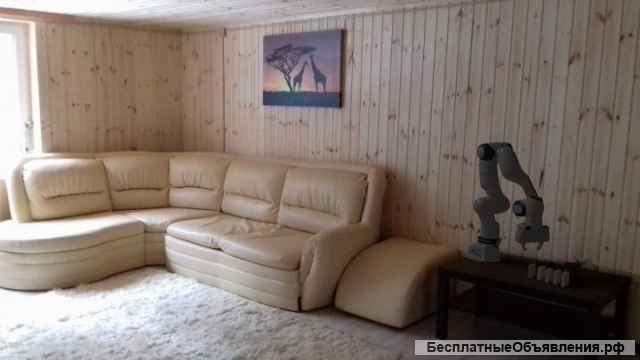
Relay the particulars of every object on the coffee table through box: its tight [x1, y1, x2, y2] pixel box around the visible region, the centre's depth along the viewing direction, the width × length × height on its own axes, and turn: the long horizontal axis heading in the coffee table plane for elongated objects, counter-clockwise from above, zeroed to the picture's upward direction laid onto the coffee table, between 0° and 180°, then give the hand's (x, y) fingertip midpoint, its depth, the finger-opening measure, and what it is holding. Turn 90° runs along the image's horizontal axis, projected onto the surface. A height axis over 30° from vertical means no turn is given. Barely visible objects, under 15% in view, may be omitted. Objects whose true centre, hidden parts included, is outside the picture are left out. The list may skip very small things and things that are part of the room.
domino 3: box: [544, 267, 554, 283], centre depth 310 cm, size 2×4×7 cm, turn 130°
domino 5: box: [560, 271, 570, 288], centre depth 303 cm, size 2×4×7 cm, turn 130°
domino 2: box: [536, 265, 546, 281], centre depth 313 cm, size 2×4×7 cm, turn 130°
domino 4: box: [552, 269, 562, 285], centre depth 306 cm, size 2×4×7 cm, turn 130°
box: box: [563, 261, 581, 279], centre depth 321 cm, size 6×6×7 cm
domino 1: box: [527, 263, 537, 279], centre depth 317 cm, size 2×4×7 cm, turn 130°
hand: (531, 250), depth 317 cm, fingers open, 8 cm apart
